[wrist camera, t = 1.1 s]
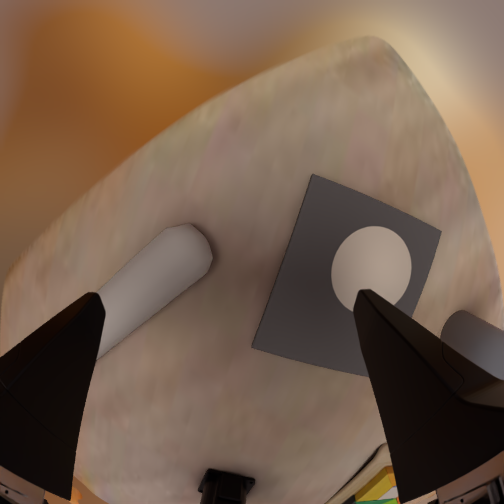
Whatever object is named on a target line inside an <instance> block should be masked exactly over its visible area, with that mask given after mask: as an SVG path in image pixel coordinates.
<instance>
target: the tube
mask: <svg viewBox="0 0 504 504" xmlns="http://www.w3.org/2000/svg"><path fill="white" fill-rule="evenodd" d="M212 260H213V256H212V253H211V249H210V246H209V243H208V241H207V239H206V238H205V236H204V235H203V234H201V233H200V232H199V231H198V230H197V229H196V228H195V227H194V226H192V225H191V224H190V223H187V224H184V225H180V226H177V227H170V228H166V229H165V230H164V231H162V232H161V233H160V234H159V235H158V236H157V237H156V238H154V239H153V240H152V241H151V242H150V243H149V244H148V245H147V246H145V247H144V248H143V249H142V250H141V251H140V252H139V253H138V254H137V255H135V256H134V257H133V258H132V259H131V260H130V261H129V262H128V263H127V264H126V265H125V266H124V267H122V268H121V269H120V270H119V271H118V272H117V273H116V274H115V275H114V276H113V277H112V278H111V279H110V280H109V281H108V282H107V283H106V284H105V285H104V286H103V287H102V288H101V289H99V290H98V291H97V292H96V293H98V294H99V295H100V297H101V300H102V303H103V305H104V308H105V311H106V318H105V322H104V327H103V332H102V337H101V342H100V347H99V352H98V356H97V359H96V360H98V359H99V358H100V357H101V356H102V355H104V354H105V353H106V352H107V351H109V350H110V349H111V348H112V347H114V346H115V345H116V344H117V343H119V342H120V341H121V340H122V339H124V338H125V337H126V336H127V335H129V334H130V333H131V332H133V331H134V330H135V329H136V328H138V327H139V326H140V325H141V324H143V323H144V322H145V321H146V320H148V319H149V318H150V317H151V316H153V315H154V314H155V313H157V312H158V311H159V310H160V309H162V308H163V307H164V306H165V305H167V304H168V303H169V302H170V301H172V300H173V299H174V298H176V297H177V296H178V295H179V294H181V293H182V292H183V291H184V290H186V289H187V288H188V287H190V286H191V285H192V284H193V283H195V282H196V281H197V280H199V279H200V278H201V277H202V276H204V275H205V274H206V273H207V272H208V271H209V268H210V265H211V262H212Z"/></svg>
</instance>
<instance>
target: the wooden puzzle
mask: <svg viewBox="0 0 504 504" xmlns="http://www.w3.org/2000/svg"><path fill="white" fill-rule="evenodd" d="M325 504H400V502H399V497H398V492H397V486H396V481H395V476H394V472H393V467H392V462H391V458H390V453H389V448H388V444H387V443H384V444H383V445H382V446H381V447H380V448H379V450H378V452H377V454H376V456H375V457H374V458H373V459H372V461H371V462H370V463H369V464H368V465H367V466H366V467H365V468H364V469H363V470H362V471H361V472H360V473H359V474H357V475H356V476H355V477H354V478H353V479H352V480H351V481H350V482H349V483H348V484H347V485H346V486H344V487H343V488H342V489H341V490H340V491H339V492H338V493H336V494H335V495H334V496H333V497H332V498H330V499H329V500H328V501H327V502H326V503H325Z"/></svg>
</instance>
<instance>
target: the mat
mask: <svg viewBox="0 0 504 504" xmlns="http://www.w3.org/2000/svg"><path fill="white" fill-rule="evenodd" d="M441 232H442V231H440V230H438V229H436V228H434V227H432V226H430V225H429V224H427V223H425V222H423V221H421V220H419V219H417V218H415V217H413V216H411V215H408V214H406V213H404V212H402V211H400V210H398V209H396V208H394V207H392V206H389V205H387V204H385V203H383V202H381V201H378V200H376V199H374V198H372V197H369V196H367V195H365V194H362V193H360V192H358V191H355V190H353V189H350V188H348V187H345V186H343V185H341V184H338V183H335V182H333V181H330V180H328V179H325V178H323V177H320V176H317V175H315V174H312V176H311V179H310V182H309V185H308V188H307V191H306V194H305V197H304V200H303V203H302V206H301V209H300V212H299V215H298V218H297V221H296V224H295V227H294V230H293V233H292V236H291V239H290V242H289V244H288V247H287V250H286V253H285V256H284V259H283V262H282V264H281V267H280V270H279V273H278V276H277V278H276V281H275V284H274V287H273V289H272V292H271V295H270V298H269V300H268V303H267V306H266V309H265V311H264V314H263V317H262V319H261V322H260V325H259V327H258V330H257V333H256V335H255V338H254V340H253V343H252V348H254V349H257V350H261V351H264V352H267V353H271V354H274V355H278V356H281V357H285V358H289V359H292V360H296V361H300V362H304V363H308V364H312V365H316V366H320V367H324V368H329V369H333V370H337V371H342V372H347V373H351V374H356V375H361V376H366V377H369V375H368V371H367V368H366V365H365V362H364V358H363V355H362V352H361V348H360V343H359V338H358V333H357V329H356V324H355V319H354V315H353V307H354V304H355V300H356V297H357V293H358V291H359V290H360V289H371V290H373V291H374V292H376V293H377V294H378V295H380V296H381V297H383V298H384V299H386V300H387V301H388V302H390V303H391V304H393V305H394V306H395V307H397V308H398V309H400V310H401V311H402V312H404V313H405V314H407V315H408V316H409V317H412V315H413V313H414V310H415V308H416V305H417V303H418V300H419V298H420V295H421V293H422V290H423V288H424V285H425V282H426V279H427V277H428V274H429V271H430V268H431V265H432V262H433V259H434V256H435V252H436V249H437V246H438V242H439V239H440V236H441Z"/></svg>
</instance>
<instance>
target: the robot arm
mask: <svg viewBox="0 0 504 504" xmlns="http://www.w3.org/2000/svg"><path fill="white" fill-rule="evenodd" d="M353 315H354V319H355V324H356V329H357V333H358V338H359V343H360V348H361V352H362V355H363V358H364V362H365V365H366V368H367V371H368V375H369V378H370V381H371V385H372V388H373V391H374V395H375V398H376V402H377V406H378V409H379V413H380V417H381V420H382V424H383V428H384V432H385V436H386V440H387V444H388V448H389V453H390V458H391V462H392V467H393V472H394V476H395V481H396V486H397V492H398V497H399V502H400V504H403V503H406V502H408V501H411V500H413V499H416V498H418V497H421V496H423V495H425V494H428V493H430V492H432V491H434V490H436V494H437V499H435V500H433V501H431V502H429V503H428V504H504V380H501V379H499V378H497V377H495V376H493V375H492V374H490V373H489V372H487V371H486V370H484V369H482V368H481V367H479V366H478V365H476V364H475V363H473V362H472V361H470V360H469V359H467V358H466V357H464V356H463V355H461V354H460V353H458V352H457V351H456V350H454V349H453V348H451V347H450V346H449V345H447V344H446V343H445V342H443V341H441V339H439V338H438V337H437V336H435V335H434V334H433V333H431V332H430V331H429V330H427V329H426V328H424V327H423V326H422V325H420V324H419V323H418V322H416V321H415V320H414V319H412V318H411V317H409V316H408V315H407V314H405V313H404V312H402V311H401V310H400V309H398V308H397V307H395V306H394V305H393V304H391V303H390V302H388V301H387V300H386V299H384V298H383V297H381V296H380V295H378V294H377V293H376V292H374V291H373V290H371V289H360V290H359V291H358V293H357V297H356V300H355V304H354V307H353ZM105 318H106V311H105V308H104V305H103V303H102V300H101V297H100V295H99V294H98V293H96V292H88V293H86V294H85V295H83V296H82V297H80V298H79V299H77V300H76V301H75V302H73V303H72V304H70V305H69V306H68V307H66V308H65V309H63V310H62V311H61V312H59V313H58V314H57V315H55V316H54V317H53V318H51V319H50V320H49V321H47V322H46V323H44V324H43V325H42V326H41V327H39V328H38V329H37V330H35V331H34V332H33V333H31V334H30V335H29V336H27V337H26V338H25V339H24V340H22V341H21V343H18V344H17V345H16V346H15V347H13V348H12V349H11V350H10V351H8V352H7V353H6V354H4V355H3V356H2V357H0V504H48V502H47V500H46V499H44V495H45V490H46V491H48V492H50V493H52V494H55V495H57V496H59V497H62V498H64V499H66V500H69V501H70V500H71V491H72V480H73V472H74V464H75V457H76V452H75V451H76V449H77V443H78V437H79V432H80V426H81V421H82V416H83V411H84V407H85V402H86V398H87V394H88V390H89V386H90V382H91V378H92V374H93V370H94V367H95V363H96V359H97V356H98V352H99V347H100V342H101V337H102V332H103V327H104V322H105ZM254 484H255V480H254V479H251V478H246V477H241V476H236V475H232V474H228V473H223V472H219V471H215V470H212V469H208V470H207V471H206V473H205V475H204V477H203V479H202V482H201V484H200V486H199V488H198V491H199V492H201V493H202V497H201V502H200V504H246V495H247V494H248V492H249V491H250V490H251V488H252V487H253V485H254Z"/></svg>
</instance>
